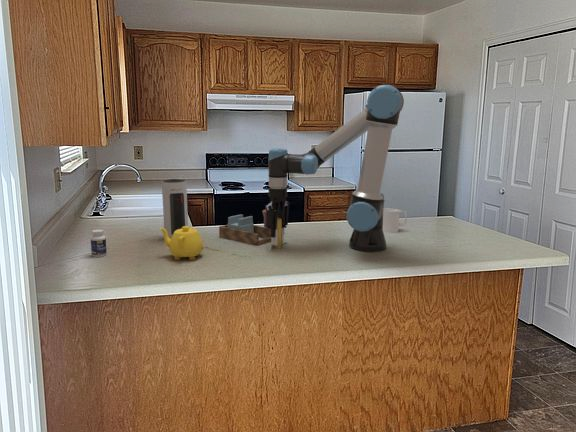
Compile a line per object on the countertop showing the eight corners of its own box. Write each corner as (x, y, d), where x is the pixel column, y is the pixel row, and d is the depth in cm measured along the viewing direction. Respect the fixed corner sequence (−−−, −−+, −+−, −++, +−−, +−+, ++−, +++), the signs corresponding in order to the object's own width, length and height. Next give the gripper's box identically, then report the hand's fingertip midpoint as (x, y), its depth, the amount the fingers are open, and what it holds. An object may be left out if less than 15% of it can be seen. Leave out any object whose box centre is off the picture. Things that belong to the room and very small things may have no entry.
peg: (283, 247, 200) (283, 218, 198) (278, 248, 198) (278, 220, 196) (277, 246, 202) (277, 217, 200) (272, 247, 200) (272, 219, 198)
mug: (265, 229, 231) (265, 208, 229) (283, 230, 229) (283, 209, 227) (258, 235, 219) (258, 213, 217) (277, 237, 218) (277, 214, 216)
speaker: (163, 242, 207) (160, 181, 201) (164, 236, 217) (161, 178, 211) (188, 241, 209) (186, 180, 203) (188, 235, 219) (186, 177, 213)
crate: (253, 236, 212) (253, 216, 210) (240, 240, 206) (240, 219, 204) (240, 233, 217) (240, 214, 215) (227, 237, 211) (227, 217, 209)
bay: (275, 243, 207) (276, 229, 206) (257, 248, 198) (257, 234, 197) (238, 234, 221) (238, 222, 219) (219, 239, 211) (219, 226, 210)
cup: (407, 233, 227) (408, 212, 225) (381, 232, 229) (382, 211, 227) (405, 229, 235) (406, 208, 233) (380, 228, 237) (381, 208, 235)
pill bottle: (97, 258, 183) (96, 232, 181) (88, 255, 186) (86, 231, 184) (109, 254, 188) (108, 230, 186) (100, 252, 190) (99, 228, 188)
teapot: (190, 249, 196) (189, 220, 194) (211, 256, 186) (210, 226, 184) (159, 256, 187) (158, 226, 184) (180, 264, 177) (179, 232, 174)
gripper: (283, 184, 204) (282, 238, 208) (257, 188, 191) (257, 246, 196) (297, 186, 199) (296, 241, 204) (271, 190, 187) (271, 249, 191)
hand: (277, 243), depth 200 cm, fingers closed on peg, 3 cm apart
